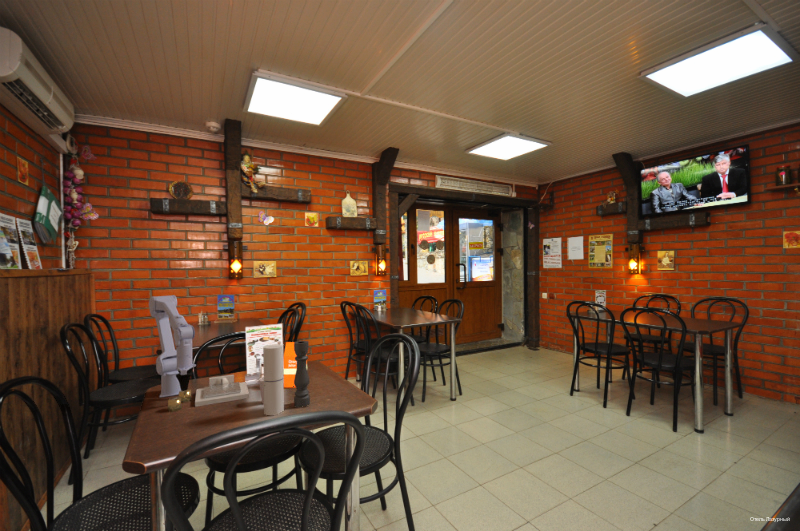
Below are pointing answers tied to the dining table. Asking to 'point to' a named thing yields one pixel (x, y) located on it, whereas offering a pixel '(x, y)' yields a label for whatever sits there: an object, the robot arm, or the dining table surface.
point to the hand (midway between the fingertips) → (185, 387)
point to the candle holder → (301, 374)
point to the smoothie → (262, 388)
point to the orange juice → (290, 365)
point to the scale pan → (222, 389)
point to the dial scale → (221, 398)
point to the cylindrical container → (273, 379)
